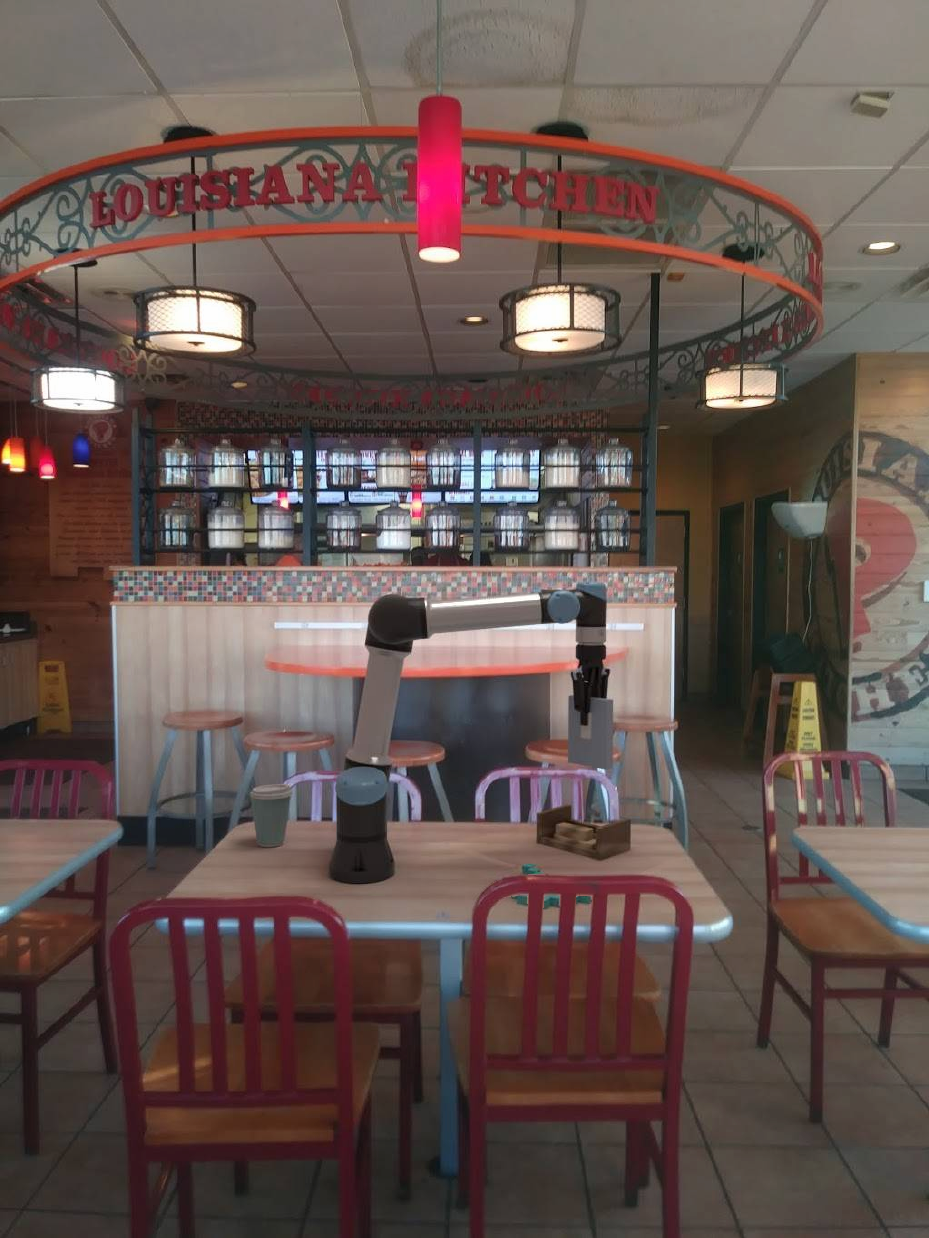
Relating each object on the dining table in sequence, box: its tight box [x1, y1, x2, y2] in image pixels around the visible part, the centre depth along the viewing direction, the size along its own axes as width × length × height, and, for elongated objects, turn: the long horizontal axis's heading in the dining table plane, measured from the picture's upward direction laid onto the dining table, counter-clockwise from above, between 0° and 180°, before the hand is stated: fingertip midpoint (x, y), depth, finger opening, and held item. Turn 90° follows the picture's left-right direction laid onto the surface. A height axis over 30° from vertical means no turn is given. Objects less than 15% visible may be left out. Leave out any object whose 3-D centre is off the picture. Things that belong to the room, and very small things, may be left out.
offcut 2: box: [554, 834, 596, 850], centre depth 217 cm, size 12×4×2 cm, turn 44°
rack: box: [536, 804, 632, 861], centre depth 218 cm, size 20×12×9 cm, turn 44°
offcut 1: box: [556, 822, 593, 842], centre depth 217 cm, size 9×3×2 cm, turn 49°
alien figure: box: [508, 862, 592, 910], centre depth 191 cm, size 20×2×20 cm
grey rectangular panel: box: [567, 694, 614, 771], centre depth 219 cm, size 12×2×17 cm, turn 44°
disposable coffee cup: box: [249, 783, 293, 848], centre depth 225 cm, size 11×11×15 cm
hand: (590, 737), depth 219 cm, fingers closed on grey rectangular panel, 2 cm apart
